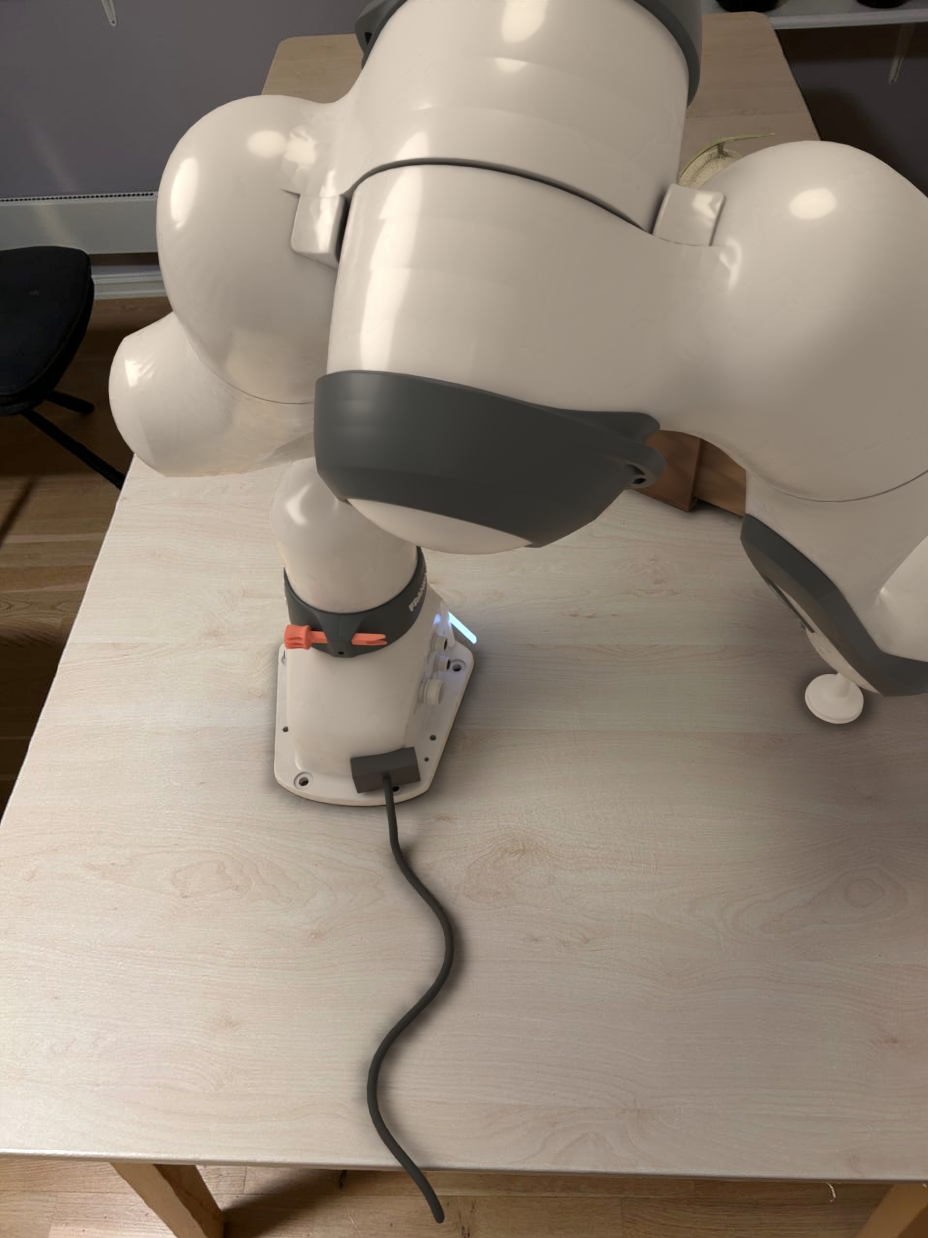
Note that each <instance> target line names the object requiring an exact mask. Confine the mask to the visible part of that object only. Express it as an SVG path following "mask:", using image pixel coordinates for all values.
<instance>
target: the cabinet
mask: <svg viewBox="0 0 928 1238" xmlns="http://www.w3.org/2000/svg"><path fill="white" fill-rule="evenodd" d="M643 444H645V445H648V446H650V447H652V448H654V449H656V450H657V451H658V452H659V453H661V454H662V455H663V456H664V458H665V460H666V468H665V470H664V471H663V473H662V474H661V476H660V477H659V479H658V480H657V481H656V482H655V483H654V484H653V485H651V486H648V487H644V488H637V489H633V490H634V491H636V492H639V493H640V494H644V495H646V496H648V497H650V498H653V499H655V500H658V501H660V502H662V503H664V504H667V505H670V506H671V507H673V508H676V509H679V510H681V511H684V512H686V513H689V512H690V511H691V510H692V508H693V507H694V506H695V504H696V503H697V502H698V501H699V500H700V499H699V498H697V497H694V496H693V495H694V489H695V484H696V478H697V472H698V467H699V461H700V455H701V450H702V444H703V439H702V438H699V437H696V436H694V435H690V434H687V433H683V432H678V431H669V430H659V431H658V432H657V433H655V434H654V435H652V436H651V437H650V438H648V439H647V440H646V441H645V442H644V443H643Z"/></svg>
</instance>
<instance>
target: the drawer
mask: <svg viewBox="0 0 928 1238" xmlns="http://www.w3.org/2000/svg"><path fill="white" fill-rule="evenodd" d="M693 496H694V497H697V498H699V499H698V500H702V501H704V502H705V503H706V502H707V503H709V504H712V505H714V506H716V507H719V508H721V509H723V510H726V511H728V512H730V513H733V514H735V515H738V516H741V517H742V518H743V514H744V513H745V505H746V470H745V469H744V468H742V467H741V466H740V465H738V464H737V463H736V462H735V461H734V460H733V459H731V458H730V457H729V456H728V455H727V454H726V453H724V452H723V451H722V450H721V449H719V448H718V447H716V446H715V445H713V444H711V443H710V442H708V441H706V440H704V439H703V444H702V450H701V455H700V461H699V467H698V472H697V478H696V484H695V489H694V495H693Z"/></svg>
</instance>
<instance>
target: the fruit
mask: <svg viewBox="0 0 928 1238" xmlns="http://www.w3.org/2000/svg"><path fill="white" fill-rule="evenodd" d="M775 135H776V132H769V133H768V132H767V133H762V134H761V133H759V134H746V135H745V134H744V135H736V136H735V135H734V136H727V137H720V138H719V139H717V140H714V141H713V142H711V143H710V144H709V145H707V146H706V147H704V148H703V149H702V150H700V151H699V152H698V153H696V154H695V155H694V156H693V157H692V158H691V159H690V160H689V161H688V162H687V163H686V165H684V166H683V169H682V170H681V171H680V172H679V180H678V184H677V185H680V186H684V187H688V188H692V189H699V188H700V187H701V186H702V185H703V184H704V183H705V182H706V181H708V180H709V179H710V178H711V177H713V176H714V175H715V174H716V173H718V172H719V171H721V170H722V169H724V168H725V167H727V166H728V165H730V164H731V163H733V162H735V161H737V160H739V159H741V158H743V157H744V156H743V155H742V154H740V153H739V152H737V151H735V150H733V149H727V148H724V147H725V145H726V144H729V143H733V142H738V141H745V140H753V139H761V138H767V137H773V136H775ZM714 147H717V148H716V149H712V148H714ZM711 149H712V150H711Z"/></svg>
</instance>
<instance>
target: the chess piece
mask: <svg viewBox="0 0 928 1238" xmlns="http://www.w3.org/2000/svg"><path fill="white" fill-rule="evenodd" d="M804 701H805V704H806V706H807V707H808V709H809V711H810V712H811V713H812V714H813V715H814V716H816V717H817V718H818V719H820V720H822V721H824V722H828V723H830V724H836V725H839V724H840V725H841V724H847V723H850V722H854V721H855V720H856V719H857V718H858V717H859V716H861V714H862V711H863V709H864V708H863V707H864V695H863V693H862V691H861V689H860V688H859V686H858V685H856V684H855V683H853V682H851V681H850V680H848V679H847V678H845V677H844V676H842V675H841V674H840V673H839V672H837V673H835V674H833V673H830V674H829V673H827V674H821V675H819V676H816V677H814V678H813V680H811V681H810V683H809V684H808V685H807V687H806V688H805V692H804Z"/></svg>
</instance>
